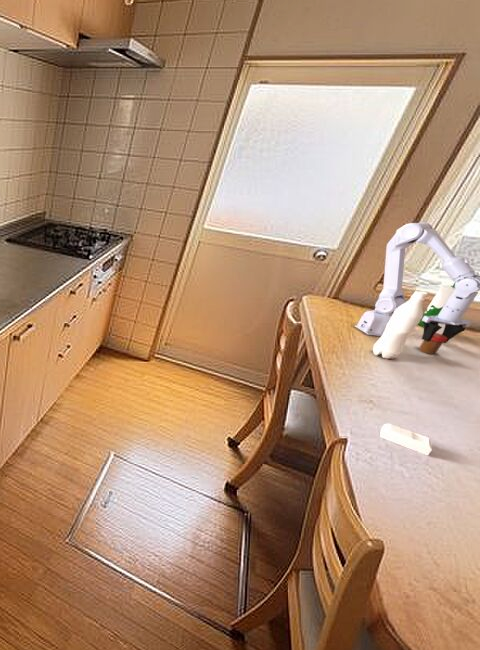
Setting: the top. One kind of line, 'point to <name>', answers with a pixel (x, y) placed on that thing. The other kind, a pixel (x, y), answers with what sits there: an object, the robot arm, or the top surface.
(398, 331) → the water bottle
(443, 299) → the milk carton
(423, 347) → the jar
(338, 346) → the top surface
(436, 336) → the lid
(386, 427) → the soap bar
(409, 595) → the top surface
